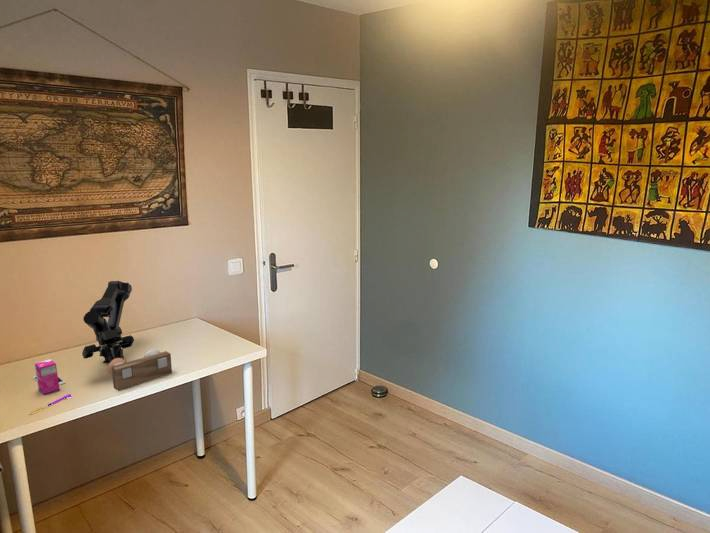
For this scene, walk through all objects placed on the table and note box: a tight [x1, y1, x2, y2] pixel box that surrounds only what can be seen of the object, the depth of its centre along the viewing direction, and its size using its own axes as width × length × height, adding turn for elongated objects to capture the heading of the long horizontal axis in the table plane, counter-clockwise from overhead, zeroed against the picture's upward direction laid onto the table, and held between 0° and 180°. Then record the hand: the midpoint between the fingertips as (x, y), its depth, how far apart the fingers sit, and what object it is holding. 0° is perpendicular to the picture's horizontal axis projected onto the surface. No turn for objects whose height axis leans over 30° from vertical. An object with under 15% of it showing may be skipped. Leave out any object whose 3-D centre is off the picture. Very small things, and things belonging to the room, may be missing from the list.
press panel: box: [111, 350, 173, 392], centre depth 201 cm, size 4×22×9 cm, turn 137°
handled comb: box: [30, 393, 72, 413], centre depth 182 cm, size 3×1×16 cm
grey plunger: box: [143, 348, 167, 369], centre depth 207 cm, size 9×7×7 cm
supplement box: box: [34, 358, 61, 396], centre depth 192 cm, size 6×6×12 cm
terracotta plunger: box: [107, 358, 132, 379], centre depth 198 cm, size 9×7×7 cm
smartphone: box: [32, 375, 66, 386], centre depth 201 cm, size 7×16×1 cm, turn 48°
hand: (116, 364), depth 201 cm, fingers closed, pressing on terracotta plunger
